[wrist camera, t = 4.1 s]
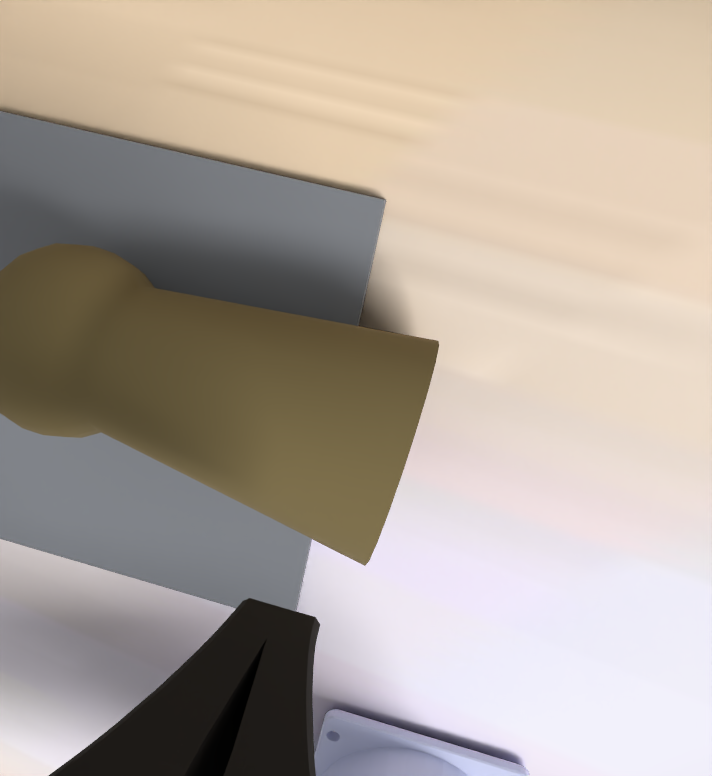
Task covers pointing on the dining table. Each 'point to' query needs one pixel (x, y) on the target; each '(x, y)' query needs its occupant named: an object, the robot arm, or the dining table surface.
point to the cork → (216, 389)
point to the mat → (184, 275)
